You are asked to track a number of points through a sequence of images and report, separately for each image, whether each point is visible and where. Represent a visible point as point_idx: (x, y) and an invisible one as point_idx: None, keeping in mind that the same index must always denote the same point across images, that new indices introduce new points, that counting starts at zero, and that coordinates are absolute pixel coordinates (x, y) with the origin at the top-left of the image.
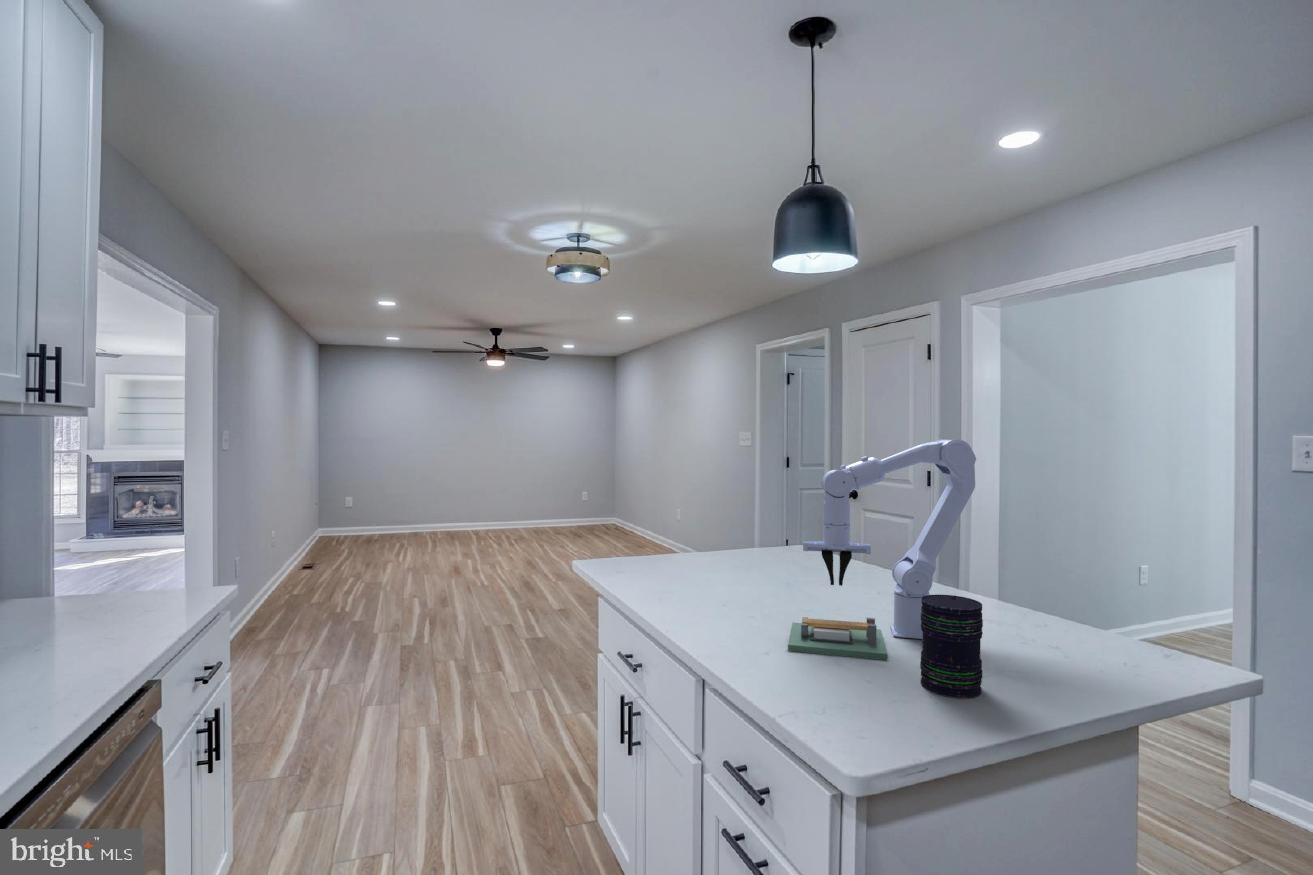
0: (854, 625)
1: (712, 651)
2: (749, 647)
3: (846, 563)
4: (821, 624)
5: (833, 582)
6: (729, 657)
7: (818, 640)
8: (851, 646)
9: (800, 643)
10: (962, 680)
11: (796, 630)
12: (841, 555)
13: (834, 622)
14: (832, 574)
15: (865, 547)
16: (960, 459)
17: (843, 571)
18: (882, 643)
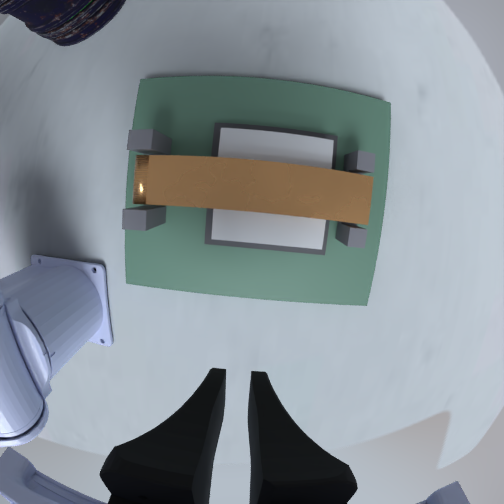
0: (196, 161)
1: (494, 111)
2: (454, 130)
3: (157, 436)
4: (310, 166)
5: (254, 377)
6: (469, 78)
7: (314, 132)
8: (221, 107)
9: (362, 112)
10: None
11: (367, 229)
12: (181, 485)
13: (263, 185)
14: (261, 400)
15: (11, 486)
16: None
17: (191, 407)
18: (133, 157)
